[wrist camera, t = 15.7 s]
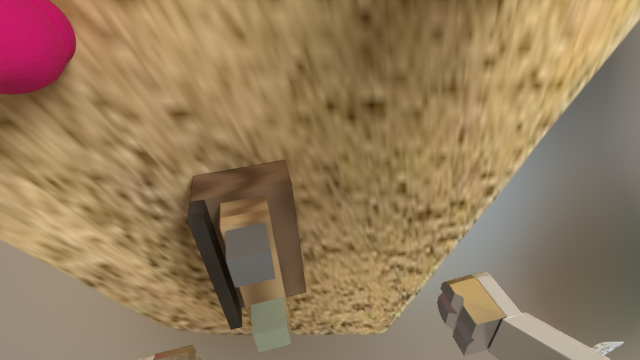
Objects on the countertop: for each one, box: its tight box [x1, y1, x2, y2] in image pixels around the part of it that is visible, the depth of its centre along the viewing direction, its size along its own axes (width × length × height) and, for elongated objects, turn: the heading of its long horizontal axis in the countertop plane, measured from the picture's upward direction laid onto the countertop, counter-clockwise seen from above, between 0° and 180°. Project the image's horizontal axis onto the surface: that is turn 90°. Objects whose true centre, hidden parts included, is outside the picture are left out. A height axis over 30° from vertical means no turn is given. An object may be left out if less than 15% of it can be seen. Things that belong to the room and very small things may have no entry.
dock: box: [187, 160, 306, 330], centre depth 43 cm, size 11×20×8 cm, turn 4°
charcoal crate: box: [226, 223, 275, 288], centre depth 34 cm, size 4×4×4 cm
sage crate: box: [250, 298, 291, 353], centre depth 41 cm, size 4×4×4 cm
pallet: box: [220, 195, 289, 324], centre depth 41 cm, size 5×18×4 cm, turn 4°
